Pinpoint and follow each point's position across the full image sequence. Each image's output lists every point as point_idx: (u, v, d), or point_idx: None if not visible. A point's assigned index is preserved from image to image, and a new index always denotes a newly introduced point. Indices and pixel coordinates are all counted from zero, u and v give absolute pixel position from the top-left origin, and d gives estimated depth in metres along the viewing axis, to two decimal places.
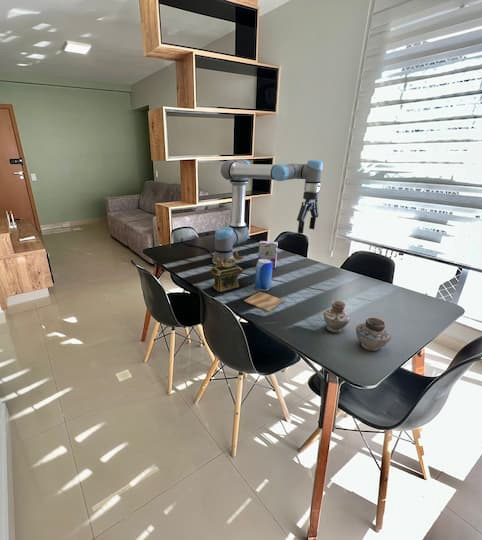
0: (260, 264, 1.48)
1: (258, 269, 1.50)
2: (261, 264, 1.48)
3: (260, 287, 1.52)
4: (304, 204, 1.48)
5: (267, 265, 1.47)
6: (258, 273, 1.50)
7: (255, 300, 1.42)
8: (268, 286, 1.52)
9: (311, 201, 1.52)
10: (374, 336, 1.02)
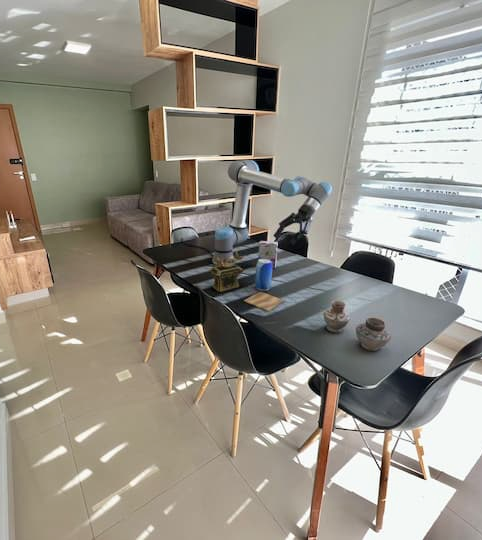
0: (260, 264, 1.48)
1: (258, 269, 1.50)
2: (261, 264, 1.48)
3: (260, 287, 1.52)
4: (311, 220, 1.45)
5: (267, 265, 1.47)
6: (258, 273, 1.50)
7: (255, 300, 1.42)
8: (268, 286, 1.52)
9: None
10: (374, 336, 1.02)
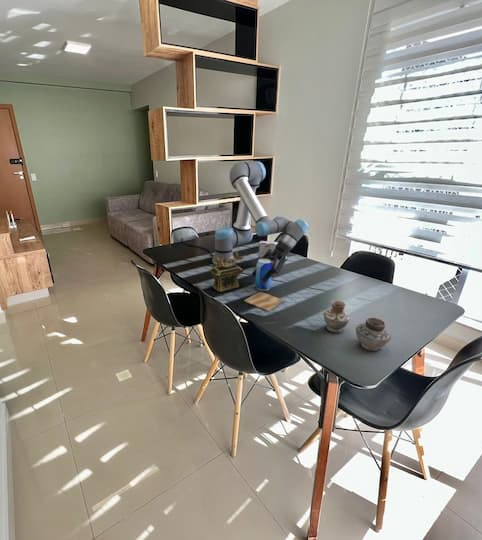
0: (260, 264, 1.48)
1: (258, 269, 1.50)
2: (261, 264, 1.48)
3: (260, 287, 1.52)
4: (285, 259, 1.47)
5: (267, 265, 1.47)
6: (258, 273, 1.50)
7: (255, 300, 1.42)
8: (268, 286, 1.52)
9: None
10: (374, 336, 1.02)
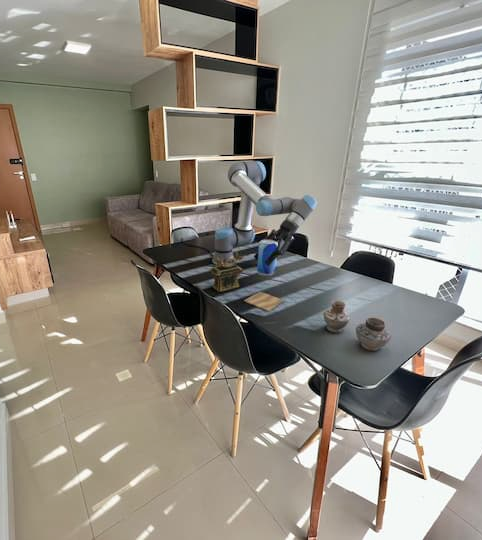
0: (263, 245, 1.32)
1: (261, 251, 1.33)
2: (264, 245, 1.32)
3: (263, 271, 1.36)
4: (291, 239, 1.31)
5: (270, 245, 1.31)
6: (261, 255, 1.34)
7: (255, 300, 1.42)
8: (272, 270, 1.36)
9: None
10: (374, 336, 1.02)
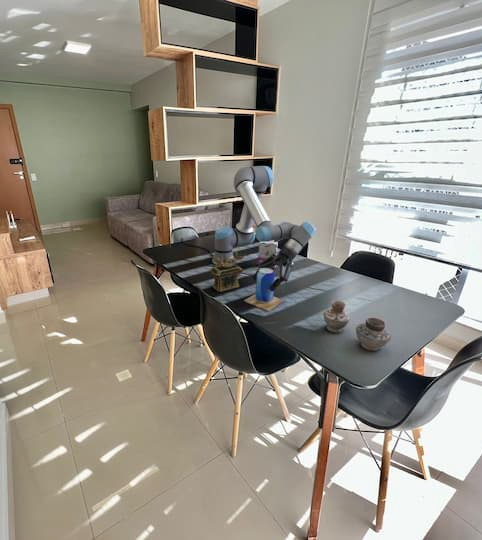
0: (261, 274, 1.34)
1: (259, 280, 1.36)
2: (262, 274, 1.34)
3: (261, 299, 1.38)
4: (292, 265, 1.33)
5: (268, 275, 1.33)
6: (259, 284, 1.36)
7: (255, 300, 1.42)
8: (270, 298, 1.38)
9: None
10: (374, 336, 1.02)
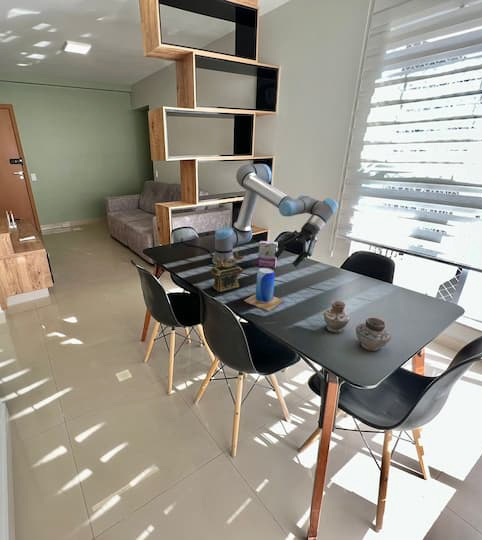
0: (261, 274, 1.34)
1: (259, 280, 1.36)
2: (262, 274, 1.34)
3: (261, 299, 1.38)
4: (315, 240, 1.33)
5: (268, 275, 1.33)
6: (259, 284, 1.36)
7: (255, 300, 1.42)
8: (270, 298, 1.38)
9: None
10: (374, 336, 1.02)
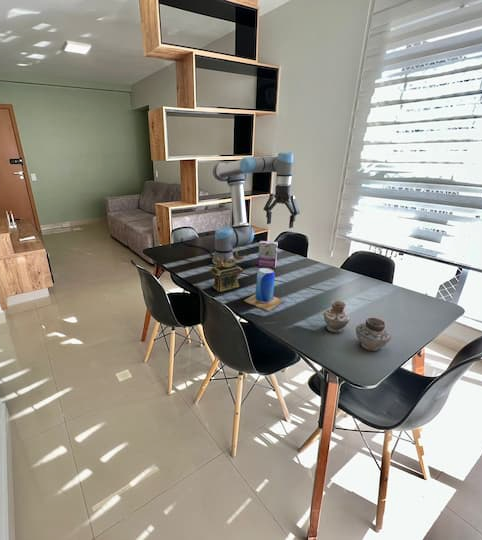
0: (261, 274, 1.34)
1: (259, 280, 1.36)
2: (262, 274, 1.34)
3: (261, 299, 1.38)
4: (294, 197, 1.45)
5: (268, 275, 1.33)
6: (259, 284, 1.36)
7: (255, 300, 1.42)
8: (270, 298, 1.38)
9: None
10: (374, 336, 1.02)
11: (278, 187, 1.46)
